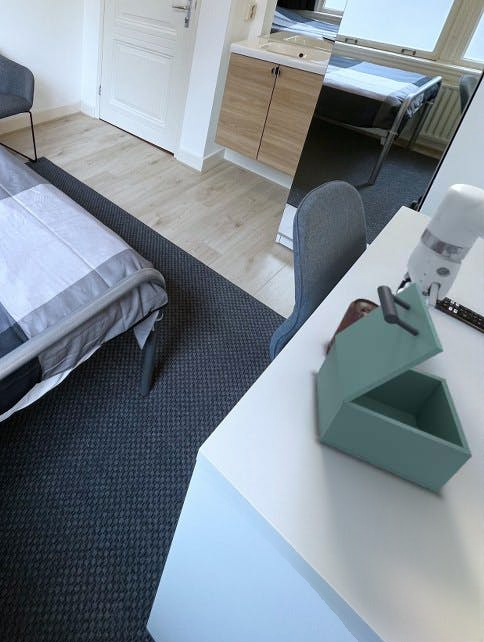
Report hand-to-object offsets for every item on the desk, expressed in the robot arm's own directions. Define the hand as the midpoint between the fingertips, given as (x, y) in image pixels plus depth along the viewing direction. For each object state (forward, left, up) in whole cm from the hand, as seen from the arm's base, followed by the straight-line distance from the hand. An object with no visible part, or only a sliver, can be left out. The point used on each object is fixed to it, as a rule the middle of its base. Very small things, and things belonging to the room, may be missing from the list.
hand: (407, 304), depth 93 cm
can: (+13, +18, -4) cm, 23 cm away
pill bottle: (0, 0, -4) cm, 4 cm away
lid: (+15, +31, +15) cm, 38 cm away
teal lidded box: (+10, +31, -4) cm, 33 cm away
